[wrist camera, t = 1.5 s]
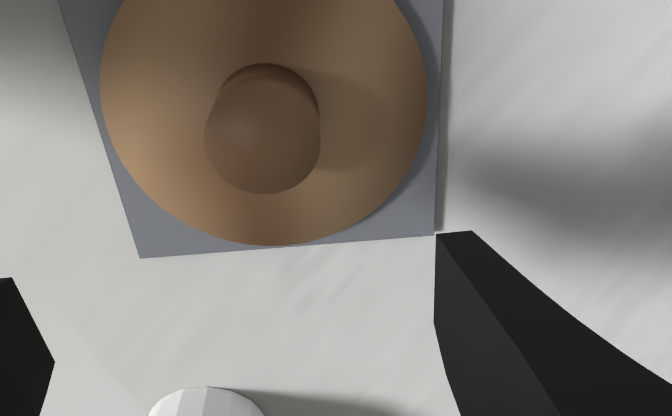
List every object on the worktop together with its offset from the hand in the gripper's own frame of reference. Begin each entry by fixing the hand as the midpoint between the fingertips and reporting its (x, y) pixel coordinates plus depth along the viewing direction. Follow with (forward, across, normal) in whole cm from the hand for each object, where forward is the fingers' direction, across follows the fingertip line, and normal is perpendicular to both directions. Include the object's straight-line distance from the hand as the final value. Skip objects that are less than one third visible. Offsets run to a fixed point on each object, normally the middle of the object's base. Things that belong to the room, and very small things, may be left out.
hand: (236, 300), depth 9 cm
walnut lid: (+9, 0, 0) cm, 9 cm away
